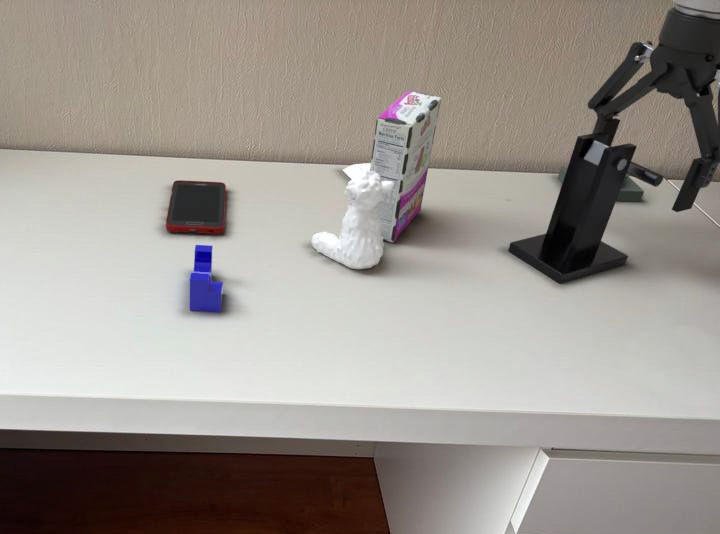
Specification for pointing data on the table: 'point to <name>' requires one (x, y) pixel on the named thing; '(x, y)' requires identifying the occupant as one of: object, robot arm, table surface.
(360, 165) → the white flat piece
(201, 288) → the cable holder
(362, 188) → the sitting furry creature
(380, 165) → the candy bar box
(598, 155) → the lever
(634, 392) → the table surface
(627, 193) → the housing
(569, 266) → the bracket
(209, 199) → the cell phone
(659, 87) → the robot arm
